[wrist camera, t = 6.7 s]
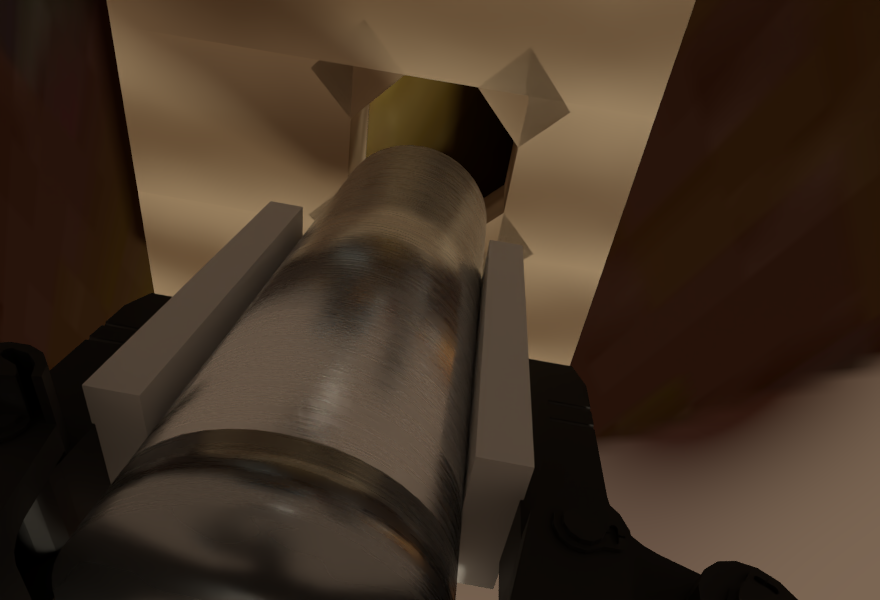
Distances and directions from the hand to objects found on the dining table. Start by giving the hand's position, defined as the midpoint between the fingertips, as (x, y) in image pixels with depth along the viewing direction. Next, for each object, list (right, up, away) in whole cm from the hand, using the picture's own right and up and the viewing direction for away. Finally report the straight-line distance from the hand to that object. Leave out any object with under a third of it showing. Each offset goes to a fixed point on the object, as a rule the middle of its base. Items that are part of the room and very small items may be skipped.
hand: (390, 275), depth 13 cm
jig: (-1, +6, +9) cm, 11 cm away
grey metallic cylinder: (0, +2, +3) cm, 4 cm away
